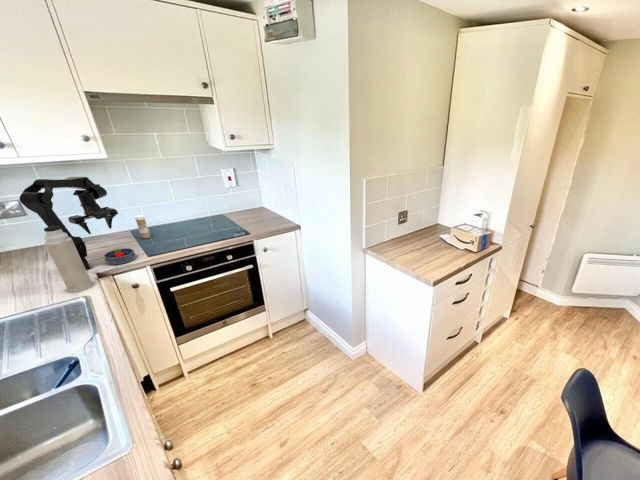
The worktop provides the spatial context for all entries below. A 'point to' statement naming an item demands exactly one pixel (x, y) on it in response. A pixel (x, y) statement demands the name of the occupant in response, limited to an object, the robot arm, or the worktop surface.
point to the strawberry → (119, 253)
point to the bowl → (112, 260)
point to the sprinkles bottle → (142, 226)
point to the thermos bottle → (66, 259)
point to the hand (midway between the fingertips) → (100, 231)
